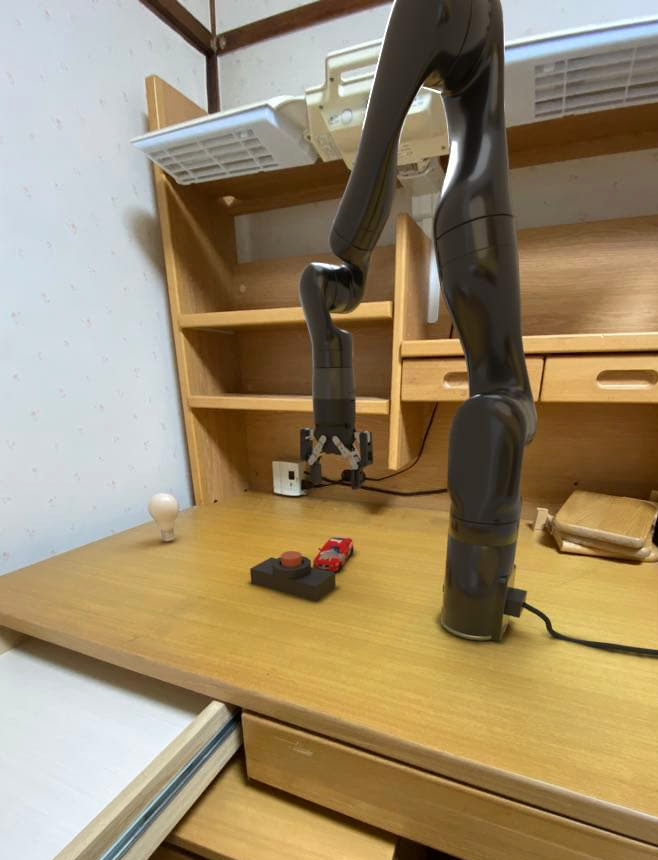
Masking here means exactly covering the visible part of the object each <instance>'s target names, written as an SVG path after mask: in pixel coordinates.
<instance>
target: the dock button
mask: <svg viewBox="0 0 658 860" xmlns="http://www.w3.org/2000/svg"><path fill="white" fill-rule="evenodd" d="M302 556H303V555H302V553H301V552H300V551H296V550H295V551H294V550H289V551H288V550H287V551H285V552H282V553H281V554H280V557H281V565H282V566H283V567H297V566H300V565H302Z"/></svg>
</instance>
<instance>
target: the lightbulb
mask: <svg viewBox="0 0 658 860" xmlns="http://www.w3.org/2000/svg"><path fill="white" fill-rule="evenodd" d="M147 511H148V513H149V515H150V517H151V519H153V520H154V521H155V523H156V524H157V526H158V528H159V529H160V534H161V540H162V541H164V542H167V543H171V542H172V541H174V540H175V539H176V537H175V529H174V527H175V522H176V519H177V517H178V515H179V512H180V503H179V501H178V499H177V498H176V497H175V496H174V495H172V494H171V493H168V492H159V493H156V494H154V495H153V496H152V497H151V498H150V499H149V501H148V504H147Z"/></svg>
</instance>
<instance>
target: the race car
mask: <svg viewBox="0 0 658 860" xmlns="http://www.w3.org/2000/svg"><path fill="white" fill-rule="evenodd" d="M318 551H319V552H318V553H317V555H316V556H315V557H314V559H313V561H312V562H313V563H312V565H313V566H312V567H313V568H317V569H321V570H325V571H329V572H333V573H335V572H341V570H342V567H343V566H344V565H345V564H346V563H347V561H348V560H349V558H350V557H352V556H353V553H354V541H353V538H351V537H346V536H334V537H333V536H332V537H331V538H329V539H328V540H327V541H326V542H325V543H324V544H323V546H322V547H319V548H318Z"/></svg>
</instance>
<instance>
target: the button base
mask: <svg viewBox="0 0 658 860" xmlns="http://www.w3.org/2000/svg"><path fill="white" fill-rule="evenodd" d="M249 573H250V583H251V584H253V585H256V586H260V587H265V588H267V589H271V590H273V591H278V592H280V593H284V594H289V595H291V596H295V597H298V598H301V599H305V600H308V601H312V602H314V603H316V602H319V601H320V600H321V599H323V597H325V596H326V595H328V594H329V593H330V592H331V591H333V590H334V589H336V573H335V572H329V571H325V570H321V569H317V568H314V566H312V561H311V559H309V558H308V557H307V556H303V555H302V565H300V566H297V567H283V566H282V565H281V556H278V557H277V558H276V557H269V558H267V559H265V560H263V561H262V562H260V563H258V564H256V565H254V566H252V567H251V568H249Z"/></svg>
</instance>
